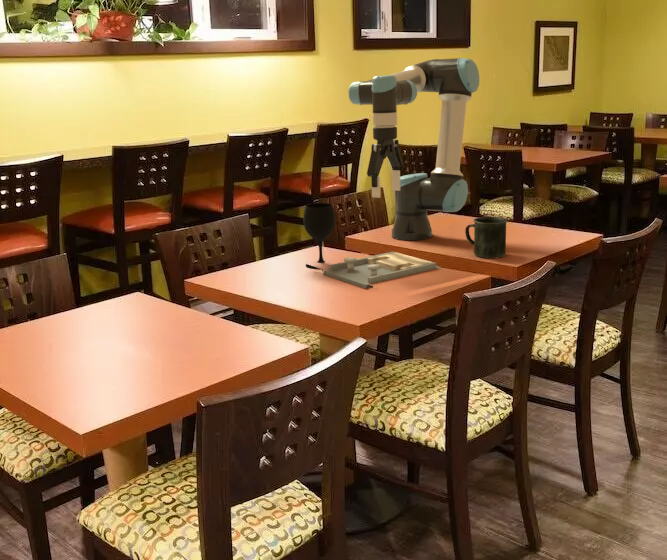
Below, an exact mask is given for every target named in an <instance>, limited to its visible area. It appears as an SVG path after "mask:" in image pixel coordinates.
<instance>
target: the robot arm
mask: <svg viewBox="0 0 667 560" xmlns="http://www.w3.org/2000/svg"><path fill="white" fill-rule="evenodd" d="M479 86H480V73H479V69H478V66H477V64H476V62H475V61H474V60H472V59H471V58H466V57H465V58H463V57H462V58H461V57H457V58H455V57H454V58H442V59H441V58H436V59H435V58H434V59H429V60H426V61H423V62H417V63H416V64H412V65H409V66H407V67H406V68H405V69H404V70H402V71H398V72H394V73H391V74H387V75H374V76H373V77H372V79H368V80H362V81H361V80H359V81H353V82H351V84H350V85H349V88H348V92H347V93H348V98H349V101H350V103H351V104H354V105H359V106H365V105H366V106H367V105H369V106H370V105H371V106H372V117H371V118H372V125H373V128H372V138H373V140H375V141H376V143H371V150H370V157H369V161H368V166H367V172H366V174H367V177H371V179H370V180H371V198H378V199H379V198H381V194H382V193H381V176H380V172H381V169H382V166H383V164H384V160H386V159H388V161H389V163H390V165H391V168H392V170H391V191H395V219H394V223H393V227H392V229H391V238H393V239H396V240H401V241H420V240H425V239H430V238H431V237H433V229H432V226H431V223H430V219H429V217H428V211H434V212H437V211H438V212H444V213H454V212H458V211H460V210H461V209H462V208H463V207H464V206H465V204H466V202H467V198H468V194H469V187H468V186H469V185H468V183H467V180H465V179H464V174H463V173H462V172H461V170H460V169H461V168H460V167H461V159H462V149H463V138H464V131H465V129H464V128H465V120H466V110H467V103H468V102H469V101H470V100H471V99H472V94H474V93H475V92H477V91H478V88H479ZM420 92H421V93H422V92H423V93H438V98H439V99H440V100H441V110H440V111H441V112H440V119H439V130H438V131H439V132H438V139H437V140H438V141H437V150H436V162H435V168H434V169H433V170H432V171H431V172H430V176H429V177H428V173H425V172H424V173H423V172H421V173H419V172H418V173H411V174H406V175H402V176H401V171H403V170H404V162H403V157H402V154H401V150H400V145H399V140H398V139H397V138H398V127H397V125H398V115H397V113H398V111H397V108H398V107H397V106H401V105H405V106H406V105H409V104H411V103H413V102H414V101H415V100H416V99H417V96H418V93H420Z"/></svg>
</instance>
